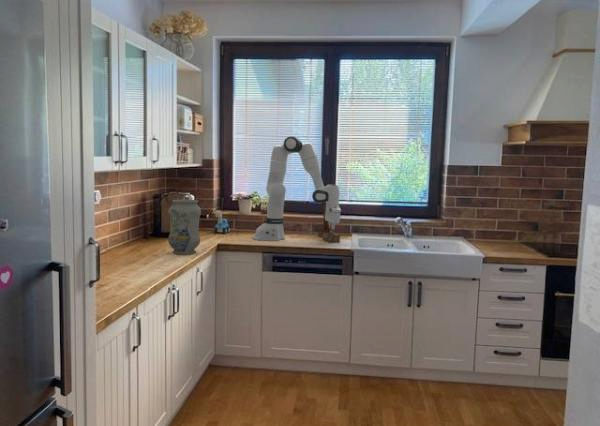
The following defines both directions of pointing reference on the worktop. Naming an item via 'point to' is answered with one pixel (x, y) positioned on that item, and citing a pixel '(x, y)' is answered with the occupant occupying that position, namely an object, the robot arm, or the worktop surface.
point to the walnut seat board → (331, 237)
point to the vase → (184, 226)
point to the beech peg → (331, 229)
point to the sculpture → (326, 224)
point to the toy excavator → (221, 224)
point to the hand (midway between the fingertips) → (331, 228)
